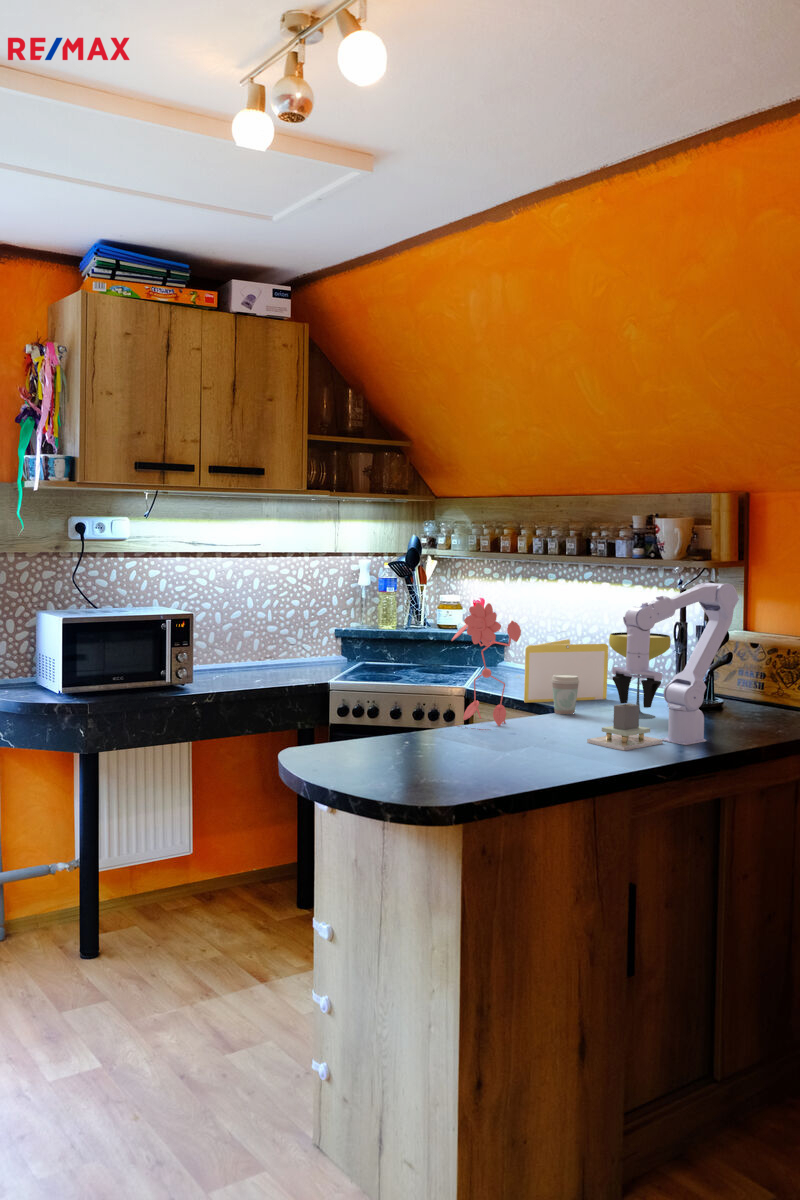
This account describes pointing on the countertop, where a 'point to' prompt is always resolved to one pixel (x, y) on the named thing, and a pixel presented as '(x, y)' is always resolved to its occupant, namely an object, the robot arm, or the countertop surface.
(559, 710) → the coffee cup
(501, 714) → the figurine
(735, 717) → the countertop surface
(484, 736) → the countertop surface
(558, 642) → the tabletop whiteboard
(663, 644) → the cocktail glass
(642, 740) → the plate
